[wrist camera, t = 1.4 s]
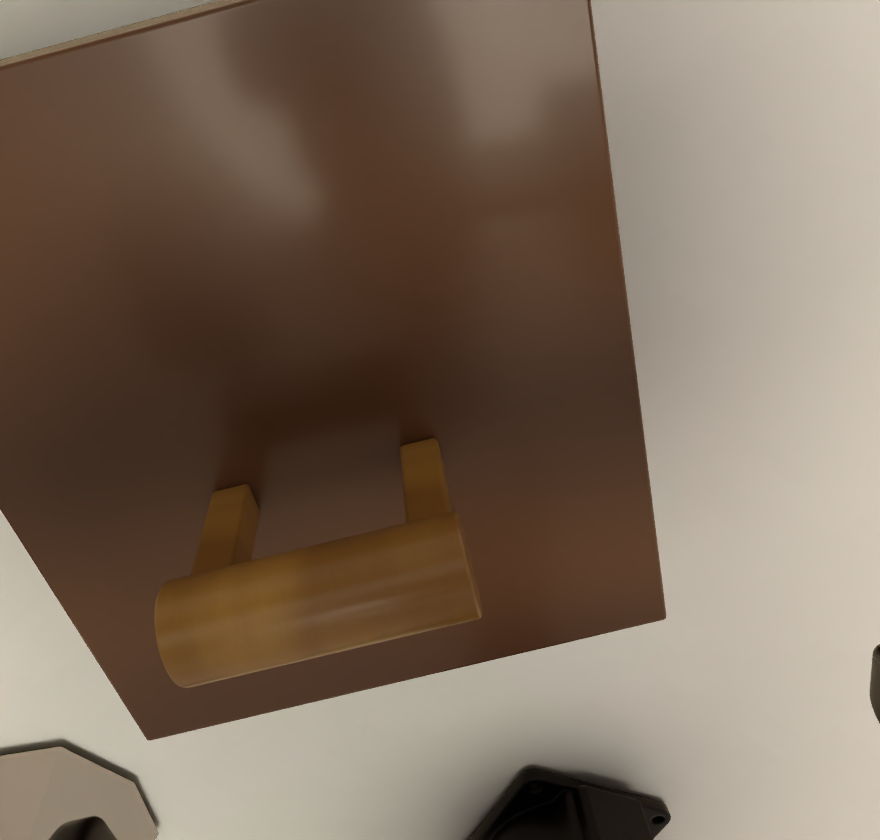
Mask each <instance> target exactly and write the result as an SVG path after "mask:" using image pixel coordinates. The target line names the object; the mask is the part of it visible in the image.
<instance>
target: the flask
mask: <svg viewBox="0 0 880 840" xmlns="http://www.w3.org/2000/svg"><path fill="white" fill-rule="evenodd" d="M90 816H97V817H100V818H102V819H103V820H104V821H105V823H106V824H107V826H108V827H109V829H110V830H111V831H112V833H113V834H114V836H115V837H116V839H117V840H155V838H156V837H157V835H158V834H159V833H158V831H157V829H156V826H155V824H154V822H153V820H152V818H151V816H150V814H149V812H148V810H147V808H146V806H145V804H144V802H143V800H142V798H141V795H140V793H139V791H138V789H137V787H136V785H135V783H134V782H132V781H130V780H128V779H126V778H124V777H122V776H120V775H118V774H116V773H113V772H111V771H109V770H107V769H105V768H103V767H101V766H99V765H97V764H95V763H93V762H91V761H89V760H87V759H85V758H83V757H81V756H79V755H77V754H75V753H73V752H71V751H69V750H67V749H65V748H63V747H61V746H60V747H54V748H47V749H41V750H34V751H28V752H21V753H15V754H9V755H2V756H0V840H48V839H49V838H50V837H51V836H52V834H53V833H54V832H55V831H56V829H57V828H59V827H60V826H61V825H62V824H64V823H66V822H68V821H72V820H76V819H81V818H86V817H90Z"/></svg>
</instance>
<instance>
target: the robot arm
mask: <svg viewBox="0 0 880 840" xmlns="http://www.w3.org/2000/svg"><path fill="white" fill-rule="evenodd" d="M870 699H871V704H872V707H873V710H874V713H875V715H876V717H877V719H878V721H879V723H880V644H879V645H877V646H876V648H875V649H874V651H873V658H872V670H871V682H870ZM670 820H671V816H670V813H669V810H668V808H667V806H666V804H664V803H662V802H658V801H654V800H651V799H647V798H643V797H639V796H636V795H632V794H628V793H624V792H620V791H617V790H613V789H609V788H605V787H602V786H598V785H594V784H590V783H587V782H583V781H579V780H575V779H572V778H568V777H564V776H560V775H557V774H553V773H549V772H545V771H542V770H537V769H532V770H527V771H525V772H523V773H522V774H521V775H520V776H519V777H518V778H517V780H516V781H515V782H514V783H513V785H512V786H511V787H510V789H509V790H508V791H507V792H506V794H505V795H504V796H503V797H502V799H501V800H500V801H499V802H498V804H497V805H496V806H495V807H494V809H493V810H492V811H491V812H490V814H489V815H488V816H487V817H486V819H485V820H484V821H483V822H482V824H481V825H480V826H479V828H478V829H477V830H476V831H475V833H474V834H473V835H472V836H471V838H470V839H469V840H653V839H654V837H655V836H656V835H657V834H658V833H659V832H660V831H661V830H662V829H663V828H664V827H665V826H666V825H667V824H668V823H669V821H670ZM48 840H117V839H116V837H115V836H114V834H113V833H112V831H111V830H110V829H109V827H108V826H107V824H106V823H105V821H104V820H103V819H102V818H100V817H97V816H90V817H86V818H81V819H76V820H72V821H68V822H66V823H64V824H62V825H61V826H60V827H59V828H57V829H56V831H55V832H54V833H53V834H52V836H51V837H50V838H49V839H48Z"/></svg>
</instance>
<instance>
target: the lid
mask: <svg viewBox="0 0 880 840" xmlns="http://www.w3.org/2000/svg"><path fill="white" fill-rule="evenodd" d="M0 509H1V511H2V512H3V514H4V516H5V517H6V519H7V520H8V522H9V523H10V525H11V527H12V528H13V530H14V531H15V533H16V534H17V536H18V538H19V539H20V541H21V542H22V544H23V545H24V547H25V549H26V550H27V552H28V553H29V555H30V556H31V558H32V560H33V561H34V563H35V564H36V566H37V567H38V569H39V571H40V572H41V574H42V575H43V577H44V578H45V580H46V582H47V583H48V585H49V586H50V588H51V589H52V591H53V593H54V594H55V596H56V597H57V599H58V600H59V602H60V604H61V605H62V607H63V608H64V610H65V611H66V613H67V615H68V616H69V618H70V619H71V621H72V622H73V624H74V626H75V627H76V629H77V630H78V632H79V633H80V635H81V637H82V638H83V640H84V641H85V643H86V644H87V646H88V648H89V649H90V651H91V652H92V654H93V655H94V657H95V659H96V660H97V662H98V663H99V665H100V666H101V668H102V670H103V671H104V673H105V674H106V676H107V677H108V679H109V681H110V682H111V684H112V685H113V687H114V688H115V690H116V692H117V693H118V695H119V696H120V698H121V699H122V701H123V703H124V704H125V706H126V707H127V709H128V710H129V712H130V714H131V715H132V717H133V718H134V720H135V721H136V723H137V725H138V726H139V728H140V729H141V731H142V732H143V734H144V736H145V737H146V739H147V740H154V739H158V738H163V737H167V736H171V735H175V734H180V733H184V732H188V731H192V730H197V729H201V728H205V727H209V726H214V725H218V724H222V723H226V722H231V721H235V720H239V719H243V718H248V717H252V716H256V715H260V714H265V713H269V712H273V711H277V710H282V709H286V708H290V707H294V706H299V705H303V704H307V703H311V702H316V701H320V700H324V699H328V698H333V697H337V696H341V695H345V694H350V693H354V692H358V691H362V690H367V689H371V688H375V687H379V686H384V685H388V684H392V683H396V682H401V681H405V680H409V679H413V678H418V677H422V676H426V675H430V674H435V673H439V672H443V671H447V670H452V669H456V668H460V667H464V666H469V665H473V664H477V663H481V662H486V661H490V660H494V659H498V658H503V657H507V656H511V655H515V654H520V653H524V652H528V651H532V650H537V649H541V648H545V647H549V646H554V645H558V644H562V643H566V642H571V641H575V640H579V639H583V638H588V637H592V636H596V635H600V634H605V633H609V632H613V631H617V630H622V629H626V628H630V627H634V626H639V625H643V624H647V623H651V622H656V621H660V620H664V619H666V609H665V601H664V593H663V585H662V577H661V569H660V561H659V552H658V544H657V536H656V528H655V520H654V512H653V504H652V496H651V487H650V479H649V471H648V463H647V455H646V447H645V439H644V430H643V422H642V414H641V406H640V398H639V390H638V382H637V374H636V365H635V357H634V349H633V341H632V333H631V325H630V317H629V308H628V300H627V292H626V284H625V276H624V268H623V260H622V252H621V243H620V235H619V227H618V219H617V211H616V203H615V195H614V186H613V178H612V170H611V162H610V154H609V146H608V138H607V129H606V121H605V113H604V105H603V97H602V89H601V81H600V73H599V64H598V56H597V48H596V40H595V32H594V24H593V16H592V7H591V0H238V1H234V2H231V3H227V4H223V5H220V6H216V7H212V8H209V9H205V10H201V11H197V12H194V13H190V14H186V15H183V16H179V17H175V18H172V19H168V20H164V21H161V22H157V23H153V24H149V25H146V26H142V27H138V28H135V29H131V30H127V31H124V32H120V33H116V34H112V35H109V36H105V37H101V38H98V39H94V40H90V41H87V42H83V43H79V44H76V45H72V46H68V47H64V48H61V49H57V50H53V51H50V52H46V53H42V54H39V55H35V56H31V57H28V58H24V59H20V60H16V61H13V62H9V63H5V64H2V65H0Z"/></svg>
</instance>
